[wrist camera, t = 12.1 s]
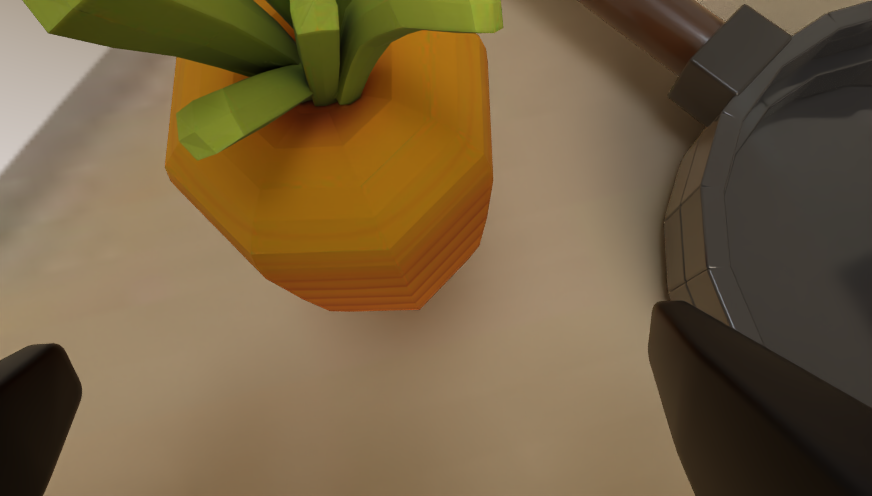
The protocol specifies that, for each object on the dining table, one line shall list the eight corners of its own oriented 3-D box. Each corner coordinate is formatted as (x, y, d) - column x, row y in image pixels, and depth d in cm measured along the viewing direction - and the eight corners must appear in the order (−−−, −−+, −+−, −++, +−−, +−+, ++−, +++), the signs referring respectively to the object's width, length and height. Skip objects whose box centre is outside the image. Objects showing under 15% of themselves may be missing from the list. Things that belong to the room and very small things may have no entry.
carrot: (446, 173, 19) (375, -536, 5) (513, 313, 18) (688, -83, 4) (303, 234, 19) (-223, -321, 5) (360, 381, 18) (-122, 251, 3)
